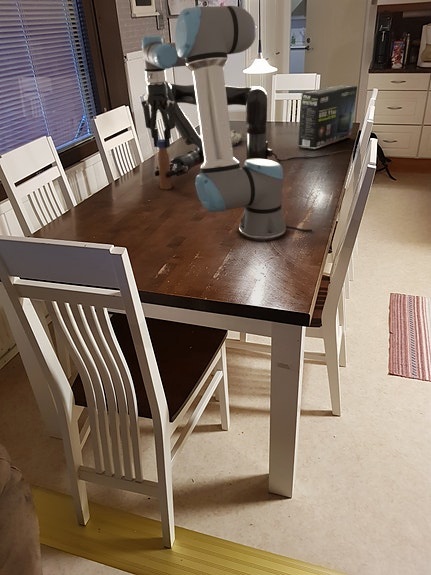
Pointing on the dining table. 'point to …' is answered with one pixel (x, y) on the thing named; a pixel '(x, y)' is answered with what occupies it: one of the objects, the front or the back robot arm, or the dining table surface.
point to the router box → (326, 115)
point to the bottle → (164, 168)
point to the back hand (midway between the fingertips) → (161, 174)
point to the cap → (160, 143)
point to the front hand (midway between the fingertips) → (162, 146)
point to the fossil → (236, 136)
